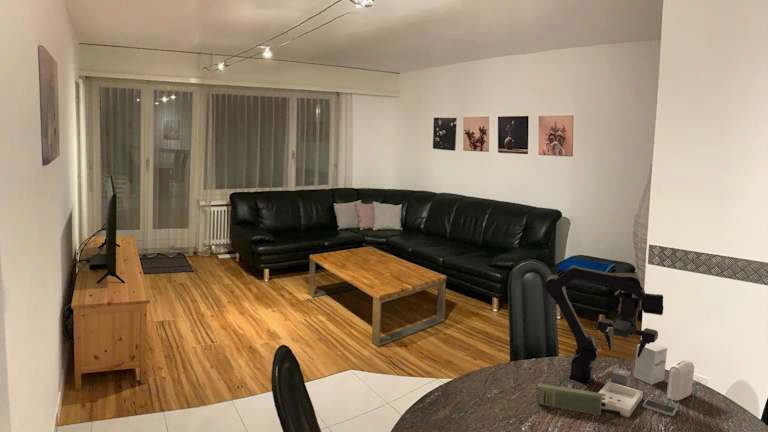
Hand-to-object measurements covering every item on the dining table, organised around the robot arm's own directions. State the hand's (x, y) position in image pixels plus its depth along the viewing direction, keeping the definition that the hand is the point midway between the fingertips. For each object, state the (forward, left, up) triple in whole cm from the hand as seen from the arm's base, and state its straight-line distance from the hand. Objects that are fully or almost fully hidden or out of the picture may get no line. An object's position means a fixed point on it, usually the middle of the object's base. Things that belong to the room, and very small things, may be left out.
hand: (624, 353), depth 180 cm
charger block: (0, -1, -12) cm, 12 cm away
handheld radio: (-6, -27, -13) cm, 30 cm away
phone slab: (+14, -9, -12) cm, 20 cm away
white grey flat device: (+3, -13, -12) cm, 18 cm away
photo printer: (+17, +5, -12) cm, 22 cm away
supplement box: (+6, +12, -12) cm, 18 cm away
